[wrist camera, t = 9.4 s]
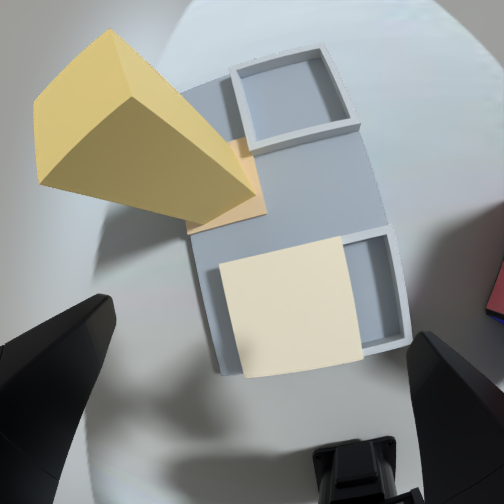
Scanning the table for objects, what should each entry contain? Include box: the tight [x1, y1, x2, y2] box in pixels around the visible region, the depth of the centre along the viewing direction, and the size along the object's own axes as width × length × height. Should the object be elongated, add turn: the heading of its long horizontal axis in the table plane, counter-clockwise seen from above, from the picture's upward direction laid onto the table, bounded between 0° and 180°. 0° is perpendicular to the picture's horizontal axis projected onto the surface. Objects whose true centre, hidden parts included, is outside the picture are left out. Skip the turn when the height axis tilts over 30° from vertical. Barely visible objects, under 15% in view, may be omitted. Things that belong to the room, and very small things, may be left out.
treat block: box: [34, 28, 256, 225], centre depth 13 cm, size 4×4×13 cm
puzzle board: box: [180, 43, 413, 378], centre depth 18 cm, size 22×13×2 cm, turn 13°
